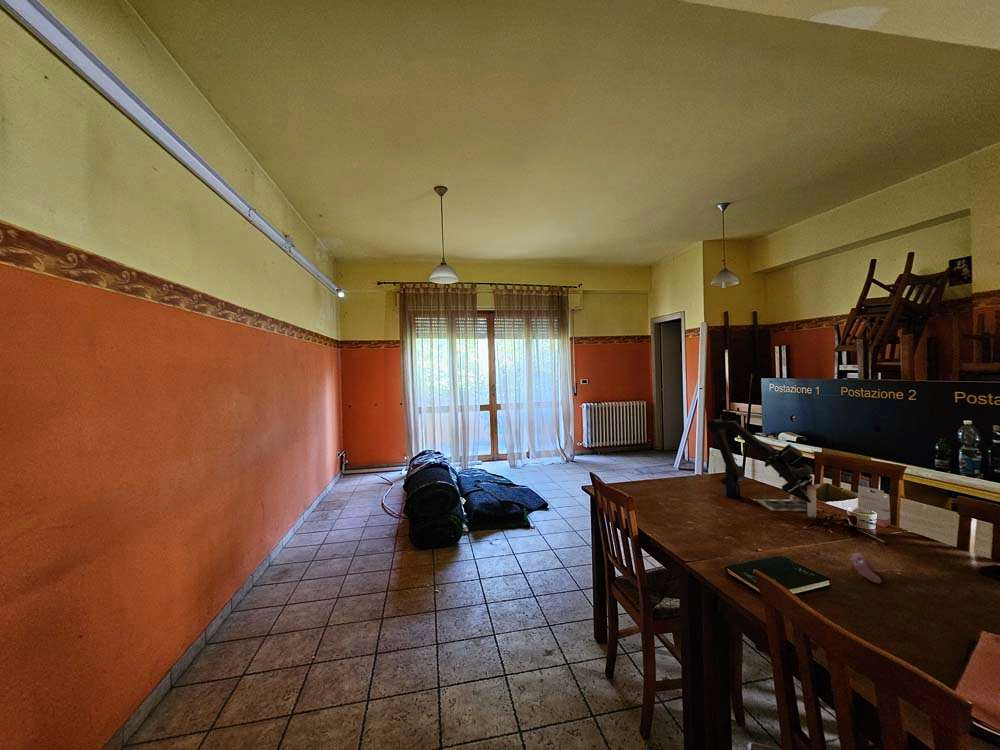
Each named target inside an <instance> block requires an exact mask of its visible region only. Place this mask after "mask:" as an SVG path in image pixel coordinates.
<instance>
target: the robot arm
mask: <svg viewBox="0 0 1000 750" xmlns="http://www.w3.org/2000/svg"><path fill="white" fill-rule="evenodd" d="M706 428H707V429H708V431H709V433H710V434H711V435H712V437H714V439H715V440H716V441H715V442H716V444H717V447H718V449H719V452H720V455H721V457H722V460H723V462H724V465H725V467H724V472H725V476H724V477H723V478H722V479H721V480H720V481H721V484H722V485H723V492H721V494H722V495H723V496H725V497H726V498H728V499H729V498H730V499H731V498H733V499H738V498H739V499H742V496H741V486H740V484H741V483H742V481H743V480H744V479H745V474H746V472H745V471H744V468H743V465H738V464H737V463H736V460H735V457H734V455H733V453H732V450H731V448H730V445H729V442H728V440H727V436H726V431H727V430H730V431H732V432H733V433H735V434H736V435H737V436H738V437H739V438H741V439H742V440H743V441H744V442H745V443H746V444H748V445H749V446H750V447H751V448H752V450H753V452H754V453H755V454H756V455H757V456H758V458H760V459H762V460H764V467H765V468H767V467H771V468H772V469H773V470H774V471H776V473H778V477H779V478H782V479H783V480H784V481H785V484H783V485H781V490H782V491H783V492H784V493H787V494H788V495H794V496H796V497H798V499H800V500H801V501H806V502H808V503H810V502H811V500H810V499H809V498H808V496H807V485H811V486H814V485H813V481H814V477H813V476H812V474H813V475H814V472H813V467H811V466H810V465H808V464H803V465H801V467H800V468H796V467H794V466H792V467H791V466H790V465H789V464H794V463H795V462H797V461H799V460H800V459H802V457H804V455H803V453H802V451H801V450H799V449H798V448H796V447H795V446H792V444H787V445H786V446H785V447H784V448H782V449H778V448H775V447H774V446H772V445H770V444H768V443H767V442H765V441H762V440H760V439H758V437H756V436H754V435H753V434H752V433H751V432H750V431H748V430H747V429H746V428H745V427H743V426H742V425H741V424H740V423H739V422H738V421H737V420H721V419H718V418H717V419H713V420H712V419H711V420H709V421H708V422H707V423H706ZM767 459H769V460H767ZM819 498H820V495H819V494H818V492H817V491H816V499H819Z"/></svg>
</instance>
